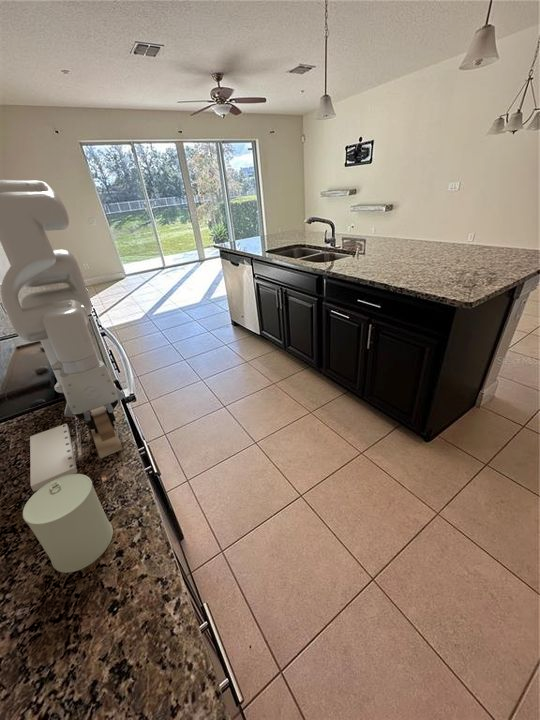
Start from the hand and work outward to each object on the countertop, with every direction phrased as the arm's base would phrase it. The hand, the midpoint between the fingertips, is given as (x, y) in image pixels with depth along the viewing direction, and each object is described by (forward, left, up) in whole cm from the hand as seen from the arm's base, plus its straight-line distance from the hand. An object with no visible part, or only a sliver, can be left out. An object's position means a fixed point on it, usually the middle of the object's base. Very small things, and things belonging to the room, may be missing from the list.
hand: (104, 426), depth 76 cm
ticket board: (+4, -11, -2) cm, 12 cm away
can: (+31, +2, -3) cm, 31 cm away
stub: (0, 0, -2) cm, 2 cm away
